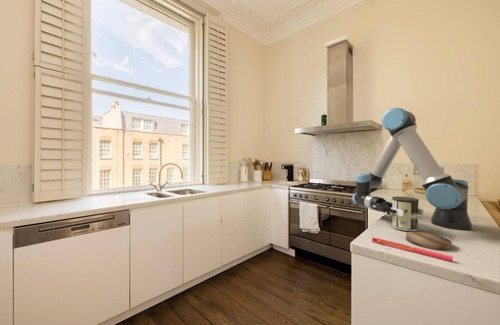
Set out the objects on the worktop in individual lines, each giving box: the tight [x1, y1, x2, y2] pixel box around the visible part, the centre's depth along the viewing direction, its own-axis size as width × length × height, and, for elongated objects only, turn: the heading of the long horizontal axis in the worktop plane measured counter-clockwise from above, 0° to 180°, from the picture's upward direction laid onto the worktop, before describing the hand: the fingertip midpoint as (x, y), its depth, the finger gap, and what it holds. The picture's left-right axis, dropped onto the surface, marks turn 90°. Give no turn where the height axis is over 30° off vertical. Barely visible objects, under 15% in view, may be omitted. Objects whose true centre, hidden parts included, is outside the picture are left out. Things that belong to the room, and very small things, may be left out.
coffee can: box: [391, 196, 420, 232], centre depth 104 cm, size 10×10×14 cm
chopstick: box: [371, 237, 455, 263], centre depth 80 cm, size 24×2×5 cm
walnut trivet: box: [405, 231, 453, 251], centre depth 87 cm, size 14×14×2 cm
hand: (413, 213), depth 100 cm, fingers closed on coffee can, 10 cm apart
